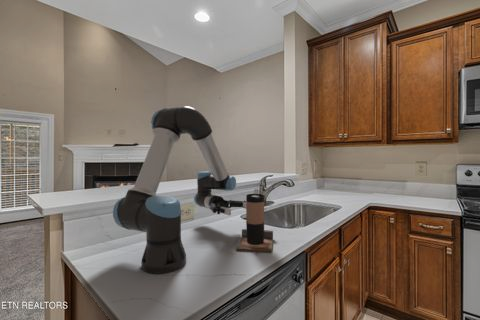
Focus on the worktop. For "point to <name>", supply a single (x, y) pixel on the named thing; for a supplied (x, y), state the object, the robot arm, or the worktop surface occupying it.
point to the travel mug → (255, 218)
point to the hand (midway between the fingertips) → (241, 209)
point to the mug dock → (263, 248)
